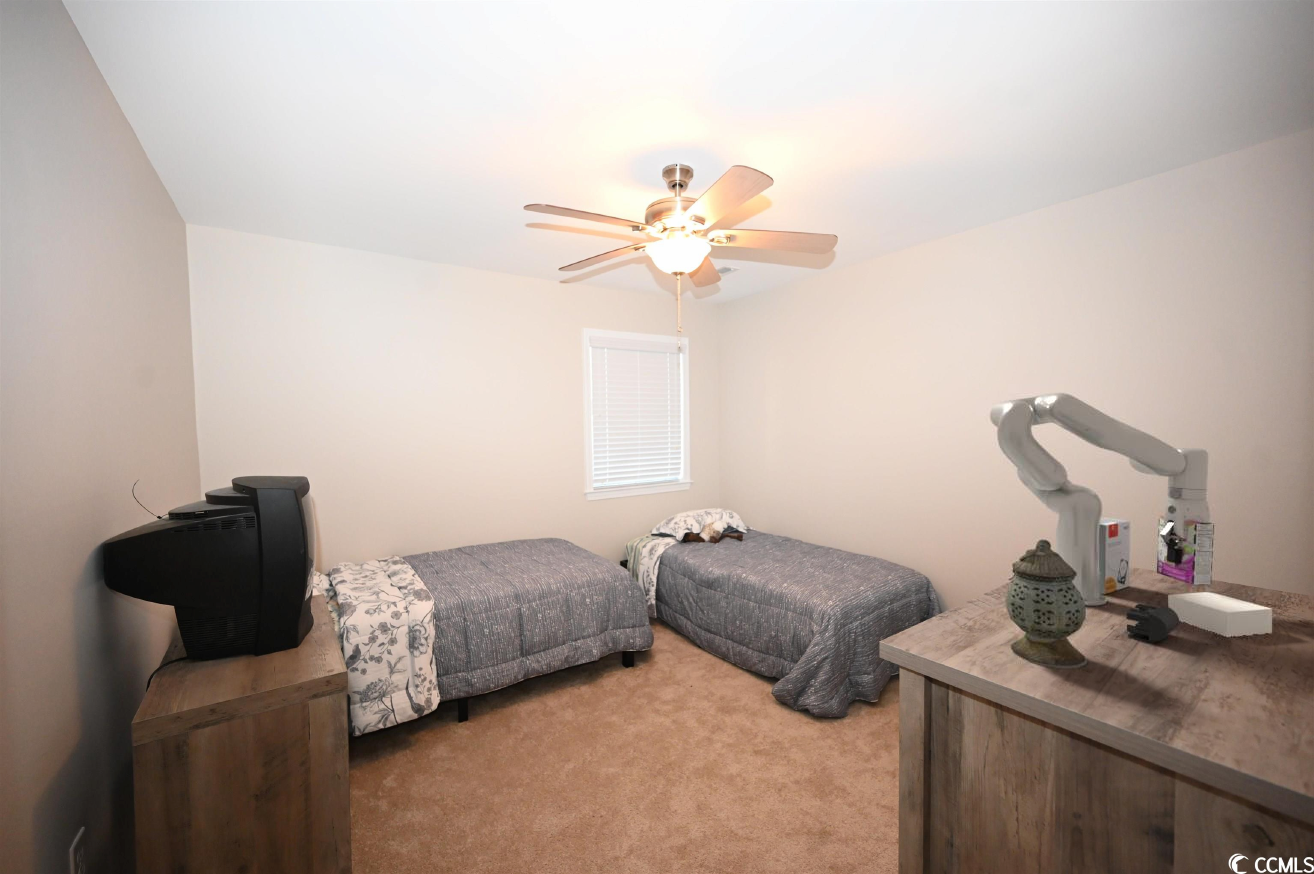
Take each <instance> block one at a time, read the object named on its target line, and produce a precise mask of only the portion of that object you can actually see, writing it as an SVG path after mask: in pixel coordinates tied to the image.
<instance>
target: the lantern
mask: <svg viewBox="0 0 1314 874" xmlns="http://www.w3.org/2000/svg"><path fill="white" fill-rule="evenodd" d="M1051 548H1052V544H1051V543H1050V541H1049V540H1047V539H1040V540H1038V541H1037V542H1036V545H1035V548H1034V549H1033V548H1032V549H1030V548H1029V549H1027V550H1026V551H1025V554H1024V555H1022V556H1020V557H1019V558H1018V560H1017V561H1015V562H1013V563H1012V564H1011V565H1012V566H1011V567H1012V573H1013V575H1012V577H1011V578H1008V581H1010V583H1009V585H1008V587H1007V589H1006V591H1005V606H1006V611H1007V612H1008V615H1009V618H1010V620H1011V621H1012V622H1013V623H1014V624H1015V625H1016V626H1017V627H1018V628H1019V629H1021V631H1022V632H1024V633H1025V634H1024V635H1022V636H1021V638H1020V639H1018V640H1016V641H1014V642H1012V643H1011V644H1010V650H1012V651H1013V652H1014V653H1015V654H1016V655H1017V656H1016V655H1015V654H1014V653H1013V652H1012V651H1011V652H1012V653H1013V654H1014V655H1015V656H1016V657H1018V656H1019V657H1018V658H1020V657H1021V658H1023V659H1022V660H1024V659H1025V660H1024V661H1026V660H1027V661H1026V662H1029V663H1032V664H1035V663H1036V664H1035V665H1038V664H1039V665H1038V666H1042V665H1043V667H1047V666H1049V667H1048V668H1053V667H1054V669H1061V670H1064V669H1065V670H1070V669H1080V668H1084V667H1085V666H1086V665H1087V663H1088V661H1087V657H1086V655H1084V654H1083V653H1082V652H1080V651H1079V650H1078V649H1077V648H1076V647H1075V646H1074V645H1073V644H1072V643H1071V642H1070V641H1069V639H1068V637H1070V636H1072V635H1073V634H1075V633H1076V632H1078V631H1079V630H1080V629H1081V628H1082V626H1083V623H1084V621H1085V620H1086V618H1087V617H1086V616H1087V615H1086V613H1087V612H1086V610H1087V607H1086V606H1087V605H1085V603H1084V600H1083V598H1082V596H1081V593H1080V592H1079V591H1078V589H1077V588H1076V587H1075V585H1074V584H1073V583H1072V581H1073V580H1074V578H1075V576H1076V575H1077V573H1076V571H1074V569H1073V568H1072V567H1071V566H1070V565H1068V564H1067V563H1066V562H1065V561H1064V560H1063V559H1062V557H1061V556H1060V555H1059V554H1058V553H1056V551H1054V550H1053V549H1051ZM1021 658H1020V659H1021Z"/></svg>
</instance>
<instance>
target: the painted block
mask: <svg viewBox="0 0 1314 874" xmlns="http://www.w3.org/2000/svg"><path fill="white" fill-rule="evenodd" d="M1167 596H1168V599H1167V601H1168V602H1167V603H1168V606H1167V607H1169V608H1171V609H1172V610H1174V611H1175V612H1176V614H1177V615H1178V618H1179V622H1180V621H1181V623H1183V622H1186V623H1188V624H1187V625H1189V624H1190V626H1192V625H1194V626H1193V627H1195V626H1197V627H1196V628H1198V627H1199V629H1201V628H1202V630H1204V629H1205V631H1207V630H1208V632H1210V631H1212V632H1211V633H1213V632H1215V633H1214V634H1216V633H1217V634H1216V635H1219V634H1221V635H1220V636H1222V635H1223V637H1225V636H1226V638H1231V636H1232V637H1233V636H1235V637H1243V635H1246V636H1254V635H1253V634H1258V635H1266V634H1265V633H1269V634H1273V608H1270V607H1266V606H1263V605H1259V604H1256V603H1252V602H1250V601H1246V600H1241V599H1238V598H1234V597H1230V596H1227V595H1223V594H1218V593H1216V592H1213V591H1204V592H1191V593H1177V594H1175V593H1174V594H1168V595H1167ZM1186 623H1185V624H1186ZM1233 638H1234V637H1233Z"/></svg>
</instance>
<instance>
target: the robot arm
mask: <svg viewBox="0 0 1314 874" xmlns="http://www.w3.org/2000/svg"><path fill="white" fill-rule="evenodd" d="M989 419H990V422H991V423H992V424H993V425H994V426H995V427H996V428H997V431H996V435H997V442H998V445H999V448H1000V450H1001V452H1002V453H1003V454H1004V455H1005V457H1006V458H1007V459H1008V460H1009V461H1010V462H1011V463H1012V464H1013V465H1014V466H1015V467H1016V473H1017V474H1016V475H1017V476H1018V479H1019V480H1020V481H1021V483H1022V484H1023V485H1024V486H1025V487H1026V488H1027V489H1028V490H1029V491H1030V492H1031V493H1032V494H1033V495H1034V496H1035V497H1036V498H1037V499H1038V500H1039V501H1040V502H1041V503H1042V504H1043V505H1045V506H1046V507H1047V508H1048V509H1049V510H1050V511H1052V512H1054V513H1056V514H1057V515H1058V519H1057V523H1056V524H1057V525H1056V532H1055V533H1056V534H1055V535H1056V536H1055V542H1056V543H1055V544H1056V551H1055V552H1056V553H1058V554H1059V555H1060V556H1061V557H1062V559H1063V560H1064V561H1065V562H1066V563H1067V564H1068V565H1070V566H1071V567H1072V568H1073V569H1074V571H1076V573H1077V575H1076V576H1075V578H1074V580H1073V581H1072V583H1073V584H1074V585H1075V587H1076V588H1077V589H1078V591H1079V592H1080V593H1081V596H1082V598H1083V600H1084V603H1085V605H1086V606H1103V605H1105V604H1107V597H1106V596H1105V595H1104V594H1100V593H1099V527H1100V520H1101V517H1102V514H1103V504H1102V503H1103V502H1102V500H1101V498H1100V496H1099V495H1098V494H1097V493H1096V492H1095V491H1093V490H1092V489H1090V488H1088V487H1086V486H1083V485H1078V484H1076V483H1073V482H1072V481H1070V480H1069V479H1068V471H1067V469H1066V468H1065V466H1064V465H1063V464H1062V463H1061V462H1060V461H1058V460H1057V459H1056V458H1055V457H1054V456H1053V455H1052V453H1050V452H1049V451H1047V449H1045V448H1044V447H1043V446H1042V445H1041V443H1040V442H1038V441H1037V439H1036V438H1035V437H1034V434H1033V432H1032V427H1033V426H1039V425H1045V424H1055V425H1057V426H1059V427H1061V428H1062V429H1064V430H1066V431H1068V432H1069V433H1071V434H1073V435H1075V436H1076V437H1078V438H1079V439H1081V440H1084V441H1085V442H1087V444H1090V445H1093V446H1095V447H1098V448H1100V449H1104V450H1108V451H1110V452H1114V453H1117V454H1118V455H1119V454H1120V455H1122V456H1124V457H1127V458H1128V462H1129V465H1130V467H1131V468H1133V469H1134V470H1135V471H1137V472H1140V473H1141V474H1145V475H1146V474H1147V475H1153V476H1158V477H1164V478H1165V477H1166V478H1167V477H1168V479H1167V497H1166V498H1167V500H1166V503H1165V508H1164V513H1163V515H1164V522H1163V531H1162V532H1161V534H1160V536H1161V537H1162V539H1163V540H1164V542H1165V543H1166V547H1167V561H1168V562H1172V563H1176V564H1181V563H1182V549H1180V547H1181V544H1182V538H1183V539H1187V538H1188V522H1189V521H1206V522H1211V517H1210V516H1211V515H1210V508H1209V507H1210V505H1209V503H1208V502H1209V501H1208V500H1207V495H1208V494H1207V492H1208V473H1209V472H1208V471H1209V453H1208V451H1207V450H1206V449H1203V448H1194V447H1174V446H1172V445H1170V444H1168V443H1166V442H1165V441H1163V440H1161V439H1159V438H1157V437H1155V436H1153V435H1151V434H1149V433H1147V432H1145V431H1143V430H1140V429H1138V428H1136V427H1133V426H1131V425H1129V424H1127V423H1125V422H1123V421H1120V420H1119V419H1115V417H1111V416H1110V415H1108V414H1106V413H1105V412H1102V411H1100V410H1099V409H1097V408H1095V407H1093V406H1092V405H1090V404H1089V403H1086V402H1085V401H1084V400H1081V399H1079V398H1077V397H1075V396H1073V395H1071V394H1069V393H1065V392H1056V393H1055V392H1054V393H1048V394H1042V395H1037V396H1031V397H1025V398H1018V399H1012V400H1011V399H1010V400H1004V401H999V402H998V403H996V404H995V405H994V406H992V408H991V410H990V413H989ZM1174 534H1176V535H1177V536H1174ZM1178 536H1179V537H1178ZM1174 539H1177V541H1176V542H1175V541H1174Z"/></svg>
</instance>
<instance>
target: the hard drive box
mask: <svg viewBox="0 0 1314 874" xmlns="http://www.w3.org/2000/svg"><path fill="white" fill-rule="evenodd" d="M1130 532H1131V520H1128V519H1127V520H1126V519H1118V518H1112V517H1105V516H1104V517H1103V516H1101V520H1100V527H1099V594H1101V595H1106V594H1111V593H1113V592H1115V591H1118V590H1119V591H1120V590H1121V589H1125V588H1128V587H1130V555H1131V554H1130V546H1131V545H1130V543H1131V542H1130V541H1131V540H1130V538H1131V537H1130V536H1131V533H1130Z"/></svg>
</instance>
